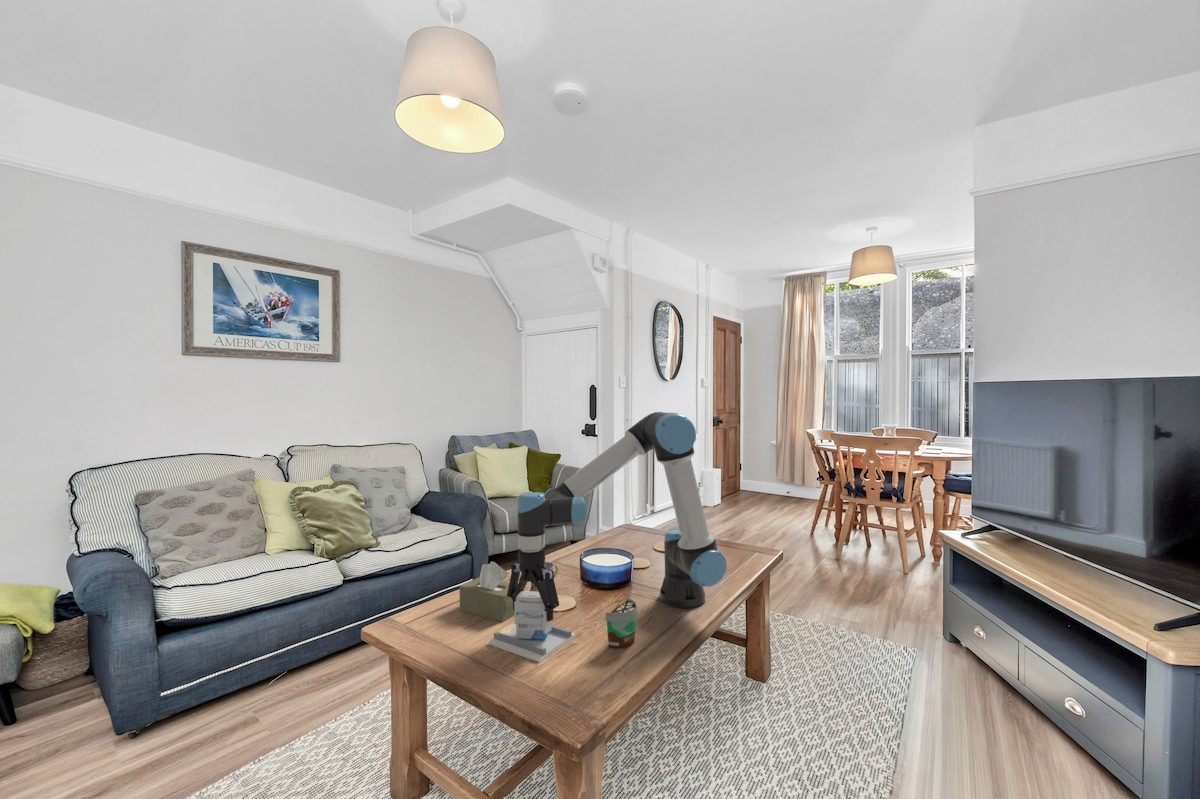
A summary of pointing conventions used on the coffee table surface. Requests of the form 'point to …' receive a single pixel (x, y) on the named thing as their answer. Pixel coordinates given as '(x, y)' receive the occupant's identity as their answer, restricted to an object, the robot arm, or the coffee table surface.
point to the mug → (548, 567)
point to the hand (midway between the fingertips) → (532, 627)
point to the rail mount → (533, 643)
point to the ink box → (529, 616)
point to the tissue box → (488, 594)
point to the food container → (622, 625)
